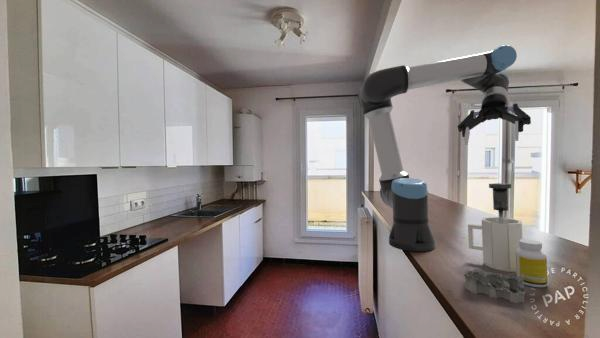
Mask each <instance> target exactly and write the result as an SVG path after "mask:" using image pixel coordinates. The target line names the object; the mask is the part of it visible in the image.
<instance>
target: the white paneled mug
mask: <svg viewBox="0 0 600 338" xmlns="http://www.w3.org/2000/svg"><path fill="white" fill-rule="evenodd" d="M503 218H504V223H499V216H492V217H490V216H489V217H483V218H482V219H481V224H476V223H475V224H473V223H468V224H467V236H468V238H467V239H468V241H467V242H468V249H470V250H477V251H481V252H482V261H483V263H484V265H485V266H486V267H488V268H491V269H493V270H496V271H501V272H507V273H516V250H517V249H519V248H521V247H520V246H519V240H521V239H524V238H523V221H522V220H519V219H515V218H510V217H503ZM474 230H480V231H481V238H482V241H481V243H482V245H480V244H475V243H474Z"/></svg>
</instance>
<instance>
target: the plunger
mask: <svg viewBox="0 0 600 338" xmlns="http://www.w3.org/2000/svg"><path fill="white" fill-rule="evenodd" d="M488 188H489V189H492V203H493V211H498V217H499V223H504V218H505V217H504V212H505V211H509V191H508V189H512V183H497V182H496V183H488Z"/></svg>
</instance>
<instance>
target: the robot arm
mask: <svg viewBox="0 0 600 338" xmlns="http://www.w3.org/2000/svg"><path fill="white" fill-rule="evenodd" d="M517 58H518V57H517V51H516V49H515V48H514V47H513V46H512V45H509V44H503V45H500V46H498V47H496V48H494V49H493V50H491V51H486V52H481V53H477V54H472V55H471V54H470V55H467V56H461V57H456V58H450V59H445V60H440V61H435V62H429V63H425V64H424V63H423V64H420V65H419V64H418V65H415V66H409V67H408V66H406V65H404V64H403V65H398V66H392V67H388V68H384V69H380V70H376V71H374V72H372V73H370V74H369V75H368V76H367V77H366V78H365V80H364V82H363V83H362V86H360V89H359V90H358V94H357V100H358V105H359V106H360V108H361V109H362V112H363V116H364V117H365V118H367V120H368V121H369V126H370V131H371V134H372V138H373V143H374V147H375V151H376V156H377V159H378V164H379V165H378V166H379V169H380V173H381V176H380V177H379V178H378V180H379V185H380V188H379V194H380V198H381V200H382V202H383V203H384V204H385V205H386V206H387V207H389V208H391V209H392V225H391V229H390V231H389V232H390V233H389V236H388V244H389V245H390V246H391V247H392V248H395V249H398V250H402V251H407V252H408V251H409V252H428V251H432V250H434V249H436V239H435V237H434V233H433V231H432V229H431V226H430V224H429V223H430V219H429V195H428V194H429V190H428V184H427V182H426V181H425V180H423V179H419V178H412V177H410V176H409V173H408V172H407V171H405V170H404V168H403V162H402V159H401V155H400V149H399V147H398V146H399V145H398V142H397V136H396V134H395V130H394V125H393V119H392V116H391V111H392V110H393V108H394V107H393V103H392V98H393V97H396V96H399V95H402V94H407V93H408V92H409V91H410V90H414V89H418V88H419V89H420V88H424V87H430V86H434V85H439V84H445V83H451V82H456V81H460V82H462V83H464V84H465V85H468V86H470V87H472V88H473V89H476V90H478V91H479V92H481V93H482V100H481V107H480V110H477V111H475V110H474V109H473V110H472V109H471V110H470V112H469V114H468V115H467V116H466V117H465V118H464V119H462V121H461V122H460V123H459V124H458V125H457V130H458V132H459V133H461V135H462V138H463V141H464V145H465V146H467V145H469V142H470V141H469V139H470V135H471V134H470V133H471V130H473V129H474V128H476V127H477V126H478V125H481V123H485V122H486V121H491V120H498V119H501V120H503V121H504V120H505V121H507V122H510V123H512V124H514V140H515V142H517V141H518V142H519V136H520V135H519V133H522V132H524V125H532V121H531V120H532V119H531V116H530V115H528V113H526V112H525V111H524V110H523V109H521V108H520V107H519V105H518V104H519V103H513V104H512V105H511V106H507V105H508V94H509V93H508V92H509V84H510V80H509V76H508V74H507V73H506V72H504V71H506V70H507V69H508V68H510V67H511V66H513V65H514V63H515V62H516V61H517Z"/></svg>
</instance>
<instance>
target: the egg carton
mask: <svg viewBox="0 0 600 338" xmlns="http://www.w3.org/2000/svg"><path fill="white" fill-rule="evenodd" d="M464 280H465V290H467V291H469V292H470V293H472V294H476V295H478V294H485V295H487V296H489V298H493V299H498V298H501V297H503V299H505V298H506V299H505V300H508V301H509V302H510V303H514V304H518V303H525V294H526V291H525V284H524V280H523V277H522V276H519V277H516V276H514V275H511V276H510V275H507V274H505V275H503V274H502V273H499V272H498V273H495V272H490V271H485V270H481V269H480V268H472V269H469V270H467V271H466V274H464ZM494 286H495V287H494ZM511 290H515V292H512V291H511Z"/></svg>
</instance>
